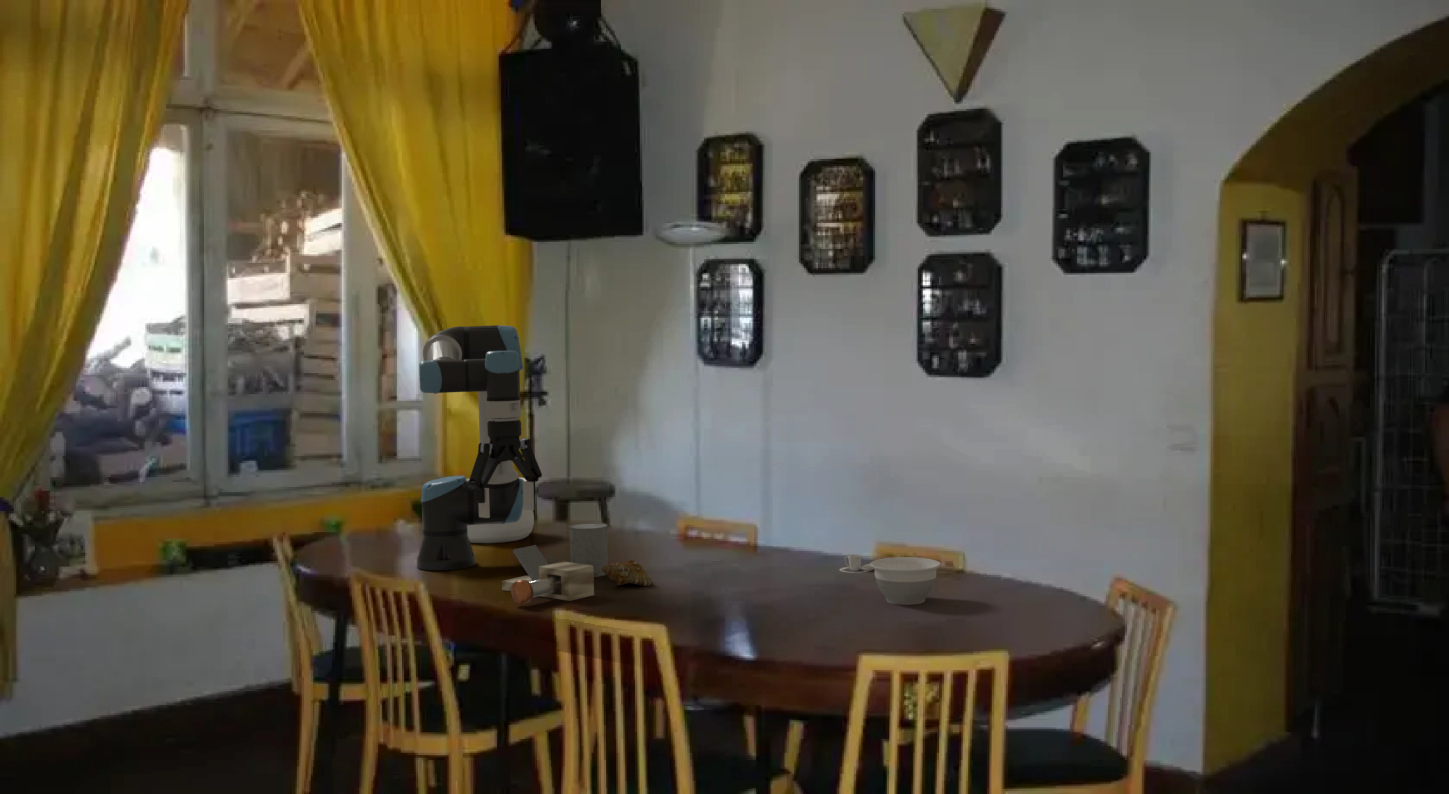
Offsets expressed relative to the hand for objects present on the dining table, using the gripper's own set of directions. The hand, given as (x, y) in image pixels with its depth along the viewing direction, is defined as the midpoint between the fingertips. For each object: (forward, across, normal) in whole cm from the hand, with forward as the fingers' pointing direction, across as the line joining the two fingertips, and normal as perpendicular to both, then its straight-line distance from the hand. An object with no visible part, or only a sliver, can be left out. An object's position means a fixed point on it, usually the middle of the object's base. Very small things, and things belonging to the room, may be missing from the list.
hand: (506, 513), depth 327 cm
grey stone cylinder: (+22, +41, +14) cm, 49 cm away
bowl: (+22, +56, -70) cm, 92 cm away
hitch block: (+22, +18, +6) cm, 29 cm away
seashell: (+22, +35, -4) cm, 42 cm away
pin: (+21, +10, 0) cm, 23 cm away
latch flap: (+16, +18, +11) cm, 26 cm away
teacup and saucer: (+22, +79, -42) cm, 93 cm away
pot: (+21, +67, +78) cm, 105 cm away
